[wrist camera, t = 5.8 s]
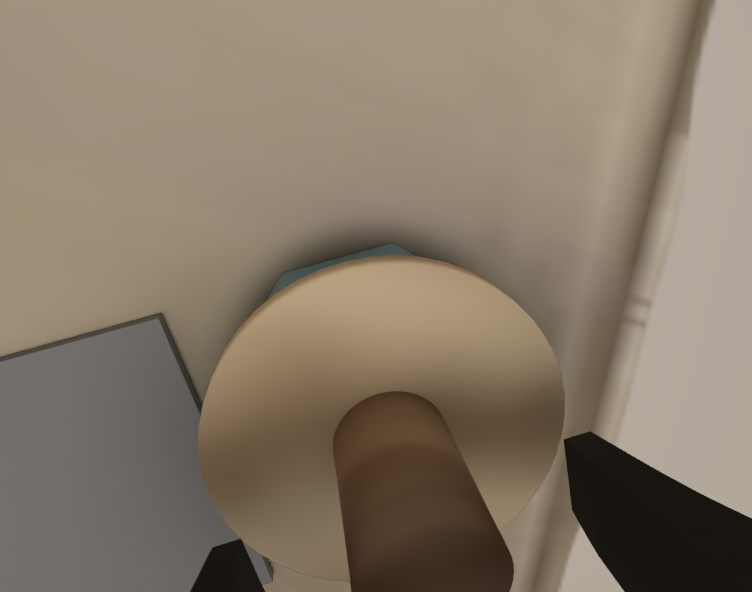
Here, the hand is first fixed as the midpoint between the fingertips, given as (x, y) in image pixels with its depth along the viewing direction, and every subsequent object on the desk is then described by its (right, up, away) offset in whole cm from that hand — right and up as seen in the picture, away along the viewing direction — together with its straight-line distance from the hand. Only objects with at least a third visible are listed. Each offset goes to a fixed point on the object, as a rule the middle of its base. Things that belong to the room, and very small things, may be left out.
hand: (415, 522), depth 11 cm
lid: (-1, +1, +3) cm, 3 cm away
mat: (-11, -2, +6) cm, 13 cm away
